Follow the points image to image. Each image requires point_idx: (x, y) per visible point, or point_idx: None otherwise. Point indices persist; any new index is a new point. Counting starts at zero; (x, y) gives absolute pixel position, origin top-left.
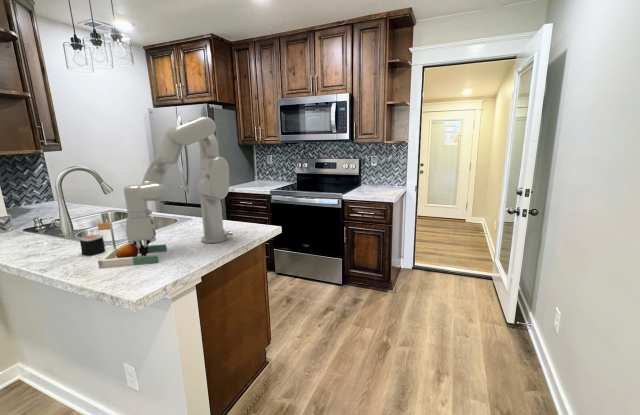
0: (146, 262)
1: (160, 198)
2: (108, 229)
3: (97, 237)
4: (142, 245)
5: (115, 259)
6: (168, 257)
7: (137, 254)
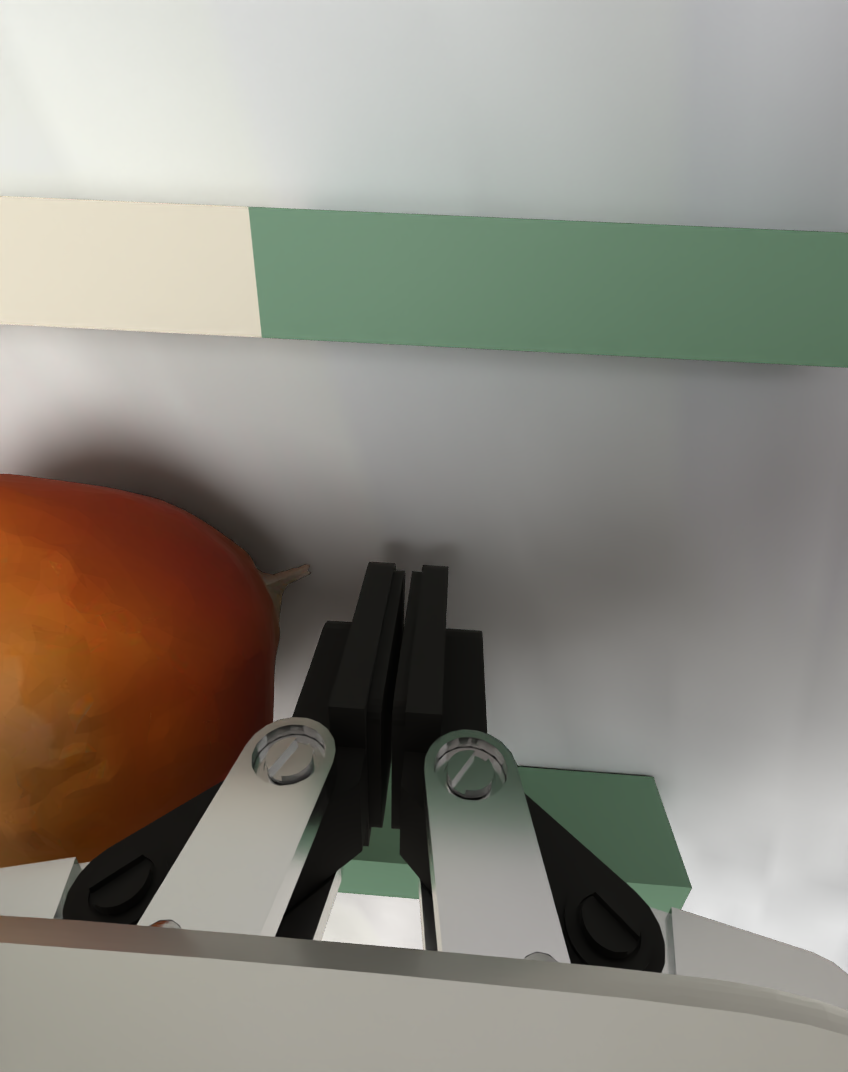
0: None
1: None
2: None
3: None
4: (362, 801)
5: None
6: (810, 681)
7: (278, 632)
